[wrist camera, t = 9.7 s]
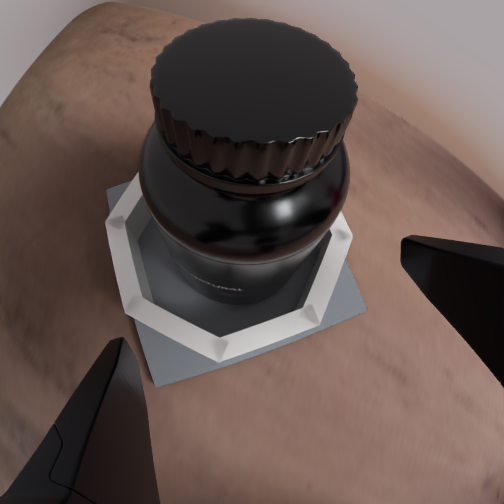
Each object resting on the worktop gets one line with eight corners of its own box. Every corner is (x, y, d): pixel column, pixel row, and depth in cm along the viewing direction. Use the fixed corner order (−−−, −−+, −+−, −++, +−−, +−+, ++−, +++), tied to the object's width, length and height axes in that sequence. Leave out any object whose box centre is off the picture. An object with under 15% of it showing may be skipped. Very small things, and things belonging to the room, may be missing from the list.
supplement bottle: (184, 318, 16) (86, 224, 5) (168, 201, 18) (113, 19, 7) (313, 294, 17) (447, 174, 6) (283, 183, 19) (335, 3, 8)
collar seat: (363, 311, 17) (387, 301, 14) (158, 386, 15) (142, 392, 12) (284, 142, 21) (292, 111, 18) (109, 194, 19) (92, 168, 16)
